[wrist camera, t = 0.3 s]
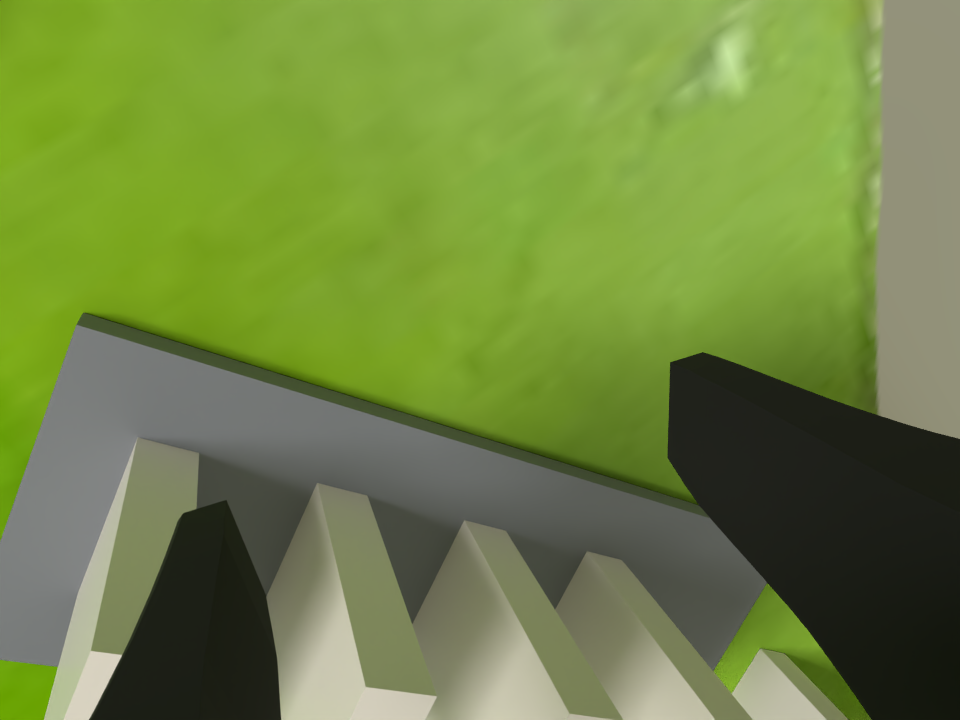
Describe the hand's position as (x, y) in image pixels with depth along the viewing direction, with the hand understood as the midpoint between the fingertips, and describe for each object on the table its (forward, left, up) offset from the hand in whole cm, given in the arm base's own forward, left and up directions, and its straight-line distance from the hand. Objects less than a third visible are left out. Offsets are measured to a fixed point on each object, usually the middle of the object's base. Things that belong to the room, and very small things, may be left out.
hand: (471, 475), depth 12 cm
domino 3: (-8, -7, -10) cm, 14 cm away
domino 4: (-8, -12, -10) cm, 17 cm away
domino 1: (-8, +3, -10) cm, 13 cm away
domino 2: (-8, -2, -10) cm, 13 cm away
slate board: (-8, -7, -11) cm, 15 cm away
